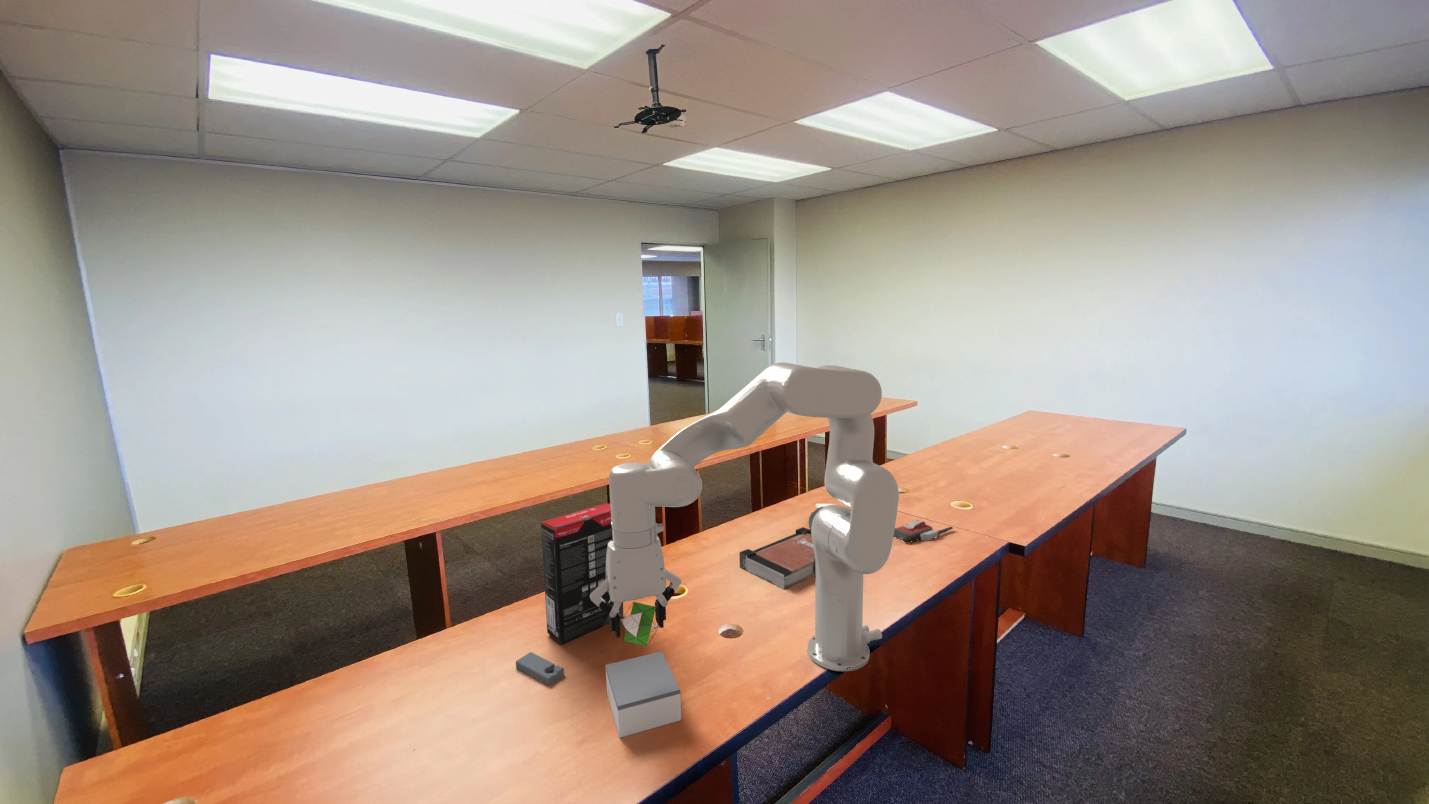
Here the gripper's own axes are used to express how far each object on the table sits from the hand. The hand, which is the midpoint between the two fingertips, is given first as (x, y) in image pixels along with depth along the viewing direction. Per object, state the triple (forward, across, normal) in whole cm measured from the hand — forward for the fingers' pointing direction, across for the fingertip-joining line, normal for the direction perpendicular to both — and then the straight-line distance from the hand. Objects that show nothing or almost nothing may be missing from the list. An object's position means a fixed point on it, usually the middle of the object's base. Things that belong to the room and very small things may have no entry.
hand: (638, 628), depth 101 cm
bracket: (+16, +17, -18) cm, 30 cm away
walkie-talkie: (+16, -99, -42) cm, 109 cm away
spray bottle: (+16, -78, -65) cm, 103 cm away
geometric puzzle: (+2, +1, 0) cm, 3 cm away
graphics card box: (+16, +5, -31) cm, 35 cm away
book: (+16, -53, -40) cm, 69 cm away
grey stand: (+16, 0, 0) cm, 16 cm away
